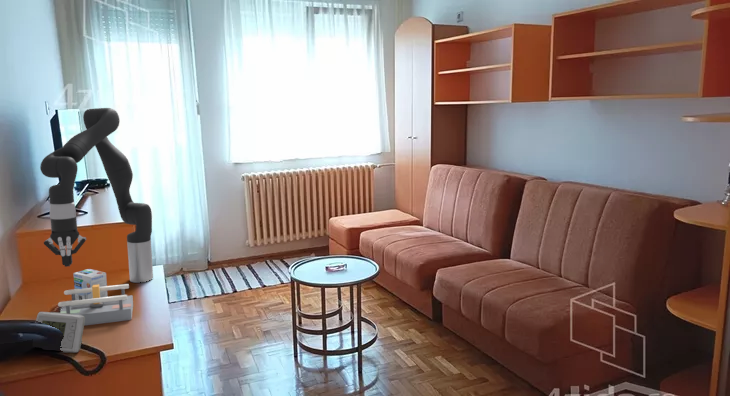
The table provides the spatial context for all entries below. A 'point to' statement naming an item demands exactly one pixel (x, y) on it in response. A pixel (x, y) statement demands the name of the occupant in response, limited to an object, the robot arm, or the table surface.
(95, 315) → the breaker panel
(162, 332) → the table surface
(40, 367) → the table surface
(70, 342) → the digital clock
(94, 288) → the breaker toggle
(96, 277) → the light bulb box
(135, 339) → the table surface
